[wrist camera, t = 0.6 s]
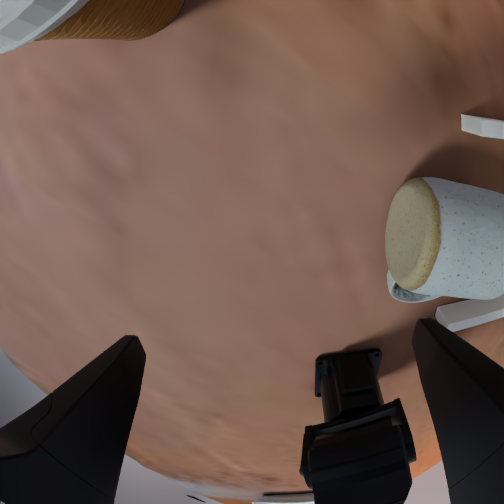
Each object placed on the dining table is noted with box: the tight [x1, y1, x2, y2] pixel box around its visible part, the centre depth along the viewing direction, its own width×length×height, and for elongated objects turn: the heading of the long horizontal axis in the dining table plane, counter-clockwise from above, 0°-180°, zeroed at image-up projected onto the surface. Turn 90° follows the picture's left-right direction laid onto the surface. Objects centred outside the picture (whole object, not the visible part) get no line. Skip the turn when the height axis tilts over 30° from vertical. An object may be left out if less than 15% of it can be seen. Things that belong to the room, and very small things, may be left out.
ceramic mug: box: [385, 177, 504, 303], centre depth 16 cm, size 11×8×8 cm
